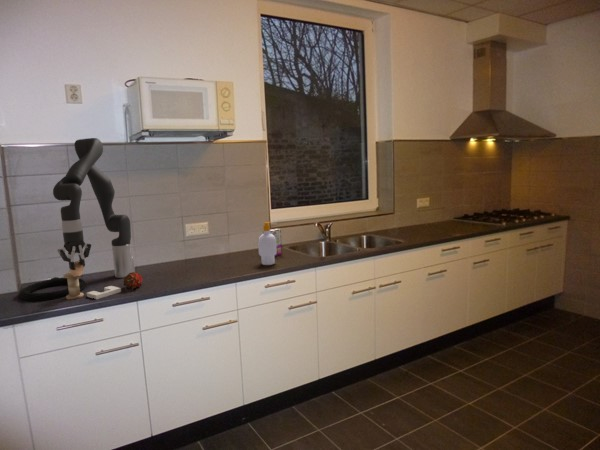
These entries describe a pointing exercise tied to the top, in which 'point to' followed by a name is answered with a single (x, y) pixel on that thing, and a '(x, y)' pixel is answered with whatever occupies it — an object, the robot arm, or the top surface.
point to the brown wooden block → (77, 269)
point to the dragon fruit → (133, 280)
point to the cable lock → (55, 281)
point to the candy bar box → (277, 240)
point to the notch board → (108, 291)
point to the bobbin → (73, 287)
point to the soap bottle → (267, 246)
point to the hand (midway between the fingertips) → (77, 268)
